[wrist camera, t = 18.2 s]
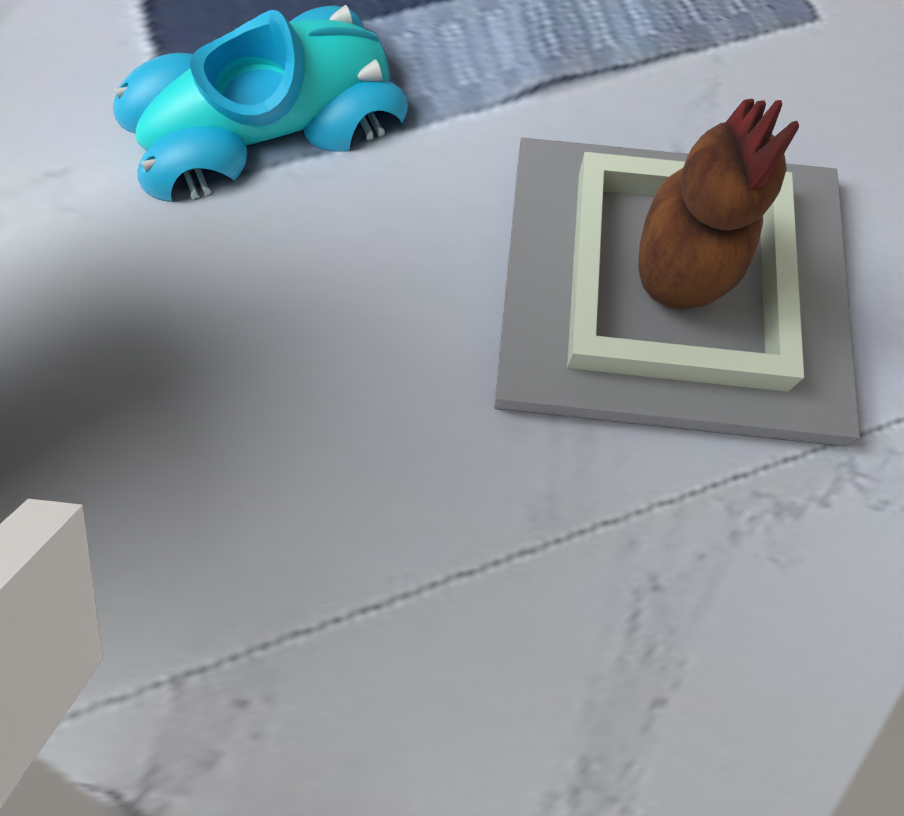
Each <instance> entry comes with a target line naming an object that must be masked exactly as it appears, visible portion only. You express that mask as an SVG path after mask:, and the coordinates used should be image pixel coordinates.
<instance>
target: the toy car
mask: <svg viewBox="0 0 904 816" xmlns="http://www.w3.org/2000/svg"><path fill="white" fill-rule="evenodd" d="M114 90H115V92H116V96H115V99H114V105H113V109H114V115H115V118H116V120H117V122H118V123H119V124H120V126H121V127H122V128H124V129H126V130H127V131H130V132H134V133H135V134H136V140H137V142H138V144H139V145H140V146H141V147H142V148H144V149H145V150H147V151H146V152H145V153H144V155H143V157H142V159H141V161H140V163H139V167H138V180H139V183H140V185H141V187H142V188H143V190H144V191H145V192H146V193H147V194H149V195H151V196H152V197H154V198H157V199H161V200H165V201H172V198H171V191H172V187H173V184H174V182H175V181H176V179H177V177H179V176H180V175H181V174H182V173H184V176H185V178H186V181H187V183H188V186H189V189H190V191H191V199H192V200H195V199H196V198H197V199H198V198H200V196H199V193H198V191H197V188H196V186H195V183H194V181H193V178H192V176H191V173H190V171H192V170H195V172H196V175H197V178H198V180H199V183H200V185H201V188H202V191H203V193H204V196H207V195H210V194H211V193H212V191H211V190H210V189H209V188H208V186H207V183H206V181H205V178H204V176H203V173H202V171H201V168H204V169H210V170H214V171H217V172H220V173H222V174H224V175H226V176H228V177H230V178H231V179H233V180H236V178H237V177H238V176H239V175H240V173H241V172H242V170H243V168H244V166H245V164H246V160H247V148H246V145H250V144H254V143H258V142H262V141H266V140H270V139H273V138H277V137H280V136H284V135H287V134H291V133H294V132H297V131H300V130H304V135H305V137H306V139H307V140H308V141H309V142H310V143H311V144H312V145H314V146H316V147H318V148H321V149H324V150H330V151H350V143H351V139H352V135H353V133H354V130H355V128H356V126H357V124H358V123H359V122H360V124H361V126H362V128H363V130H364V132H365V134H366V139H367V140H371V139H374V138H373V133H372V129H371V128H370V126H369V124H368V122H367V120H366V118H365V115H366V114H367V115H368V117H369V119H370V121H371V123H372V125H373V127H374V129H375V131H376V133H377V135H378V137H380V136H383V135H384V134H385V131H384V129H383V128H381V126H380V124H379V122H378V120H377V118H376V116H375V114H374V112H375V111H378V110H380V111H386V112H390V113H391V114H393V115H395V116H397V117H398V119H399V121H400V122H401V124H402V123H403V121H404V119H405V117H406V114H407V109H408V103H407V98H406V96H405V94H404V93H403V91H402V89H401V88H399V87H398V86H397V85H395V84H394V83H392V82H391V77H390V71H389V66H388V62H387V58H386V55H385V52H384V49H383V47H382V44H381V42H380V40H379V38H378V37H377V35H376V34H375V33H374V32H372V31H370V32H369V31H367V30H366V29H364V26H363V23H362V21H361V19H360V18H359V16H358V15H357V14H356V13H354V12H353V11H352V10H349V9H348V7H347V5H345V6H343V7H339V6H325V7H319V8H316V9H312V10H309V11H307V12H305V13H303V14H301V15H299V16H297V17H296V18H294V19H293V20H292V21H290V22H289V21H288V20H287V19H286V18H285V17H284V16H283V15H282V14H281V13H280V12H278V11H275V10H271V11H267V12H265V13H263V14H261V15H259V16H258V17H256V18H255V19H253V20H251V21H249V22H247V23H245V24H243V25H242V26H240V27H239V28H237V29H236V30H234V31H232V32H230V33H228V34H226V35H224V36H223V37H221V38H219V39H217V40H214V41H213V42H211V43H209V44H206V45H205V46H203V47H202V48H199V49H198V50H197V51H196V52H195V53H194V54H188V53H172V54H166V55H162V56H159V57H156V58H154V59H151V60H149V61H147V62H145V63H144V64H142V65H140V66H139V67H137V68H136V69H135V70H134V71H132V72H131V73H130V74H129V75H128V76H127V77H126V79H125V80H124V81H123V83H122V84H121V85H120V87H119V88H115V89H114Z"/></svg>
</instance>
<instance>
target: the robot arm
mask: <svg viewBox="0 0 904 816" xmlns="http://www.w3.org/2000/svg"><path fill="white" fill-rule="evenodd" d="M102 659H103V655H102V648H101V640H100V633H99V625H98V617H97V610H96V602H95V595H94V587H93V579H92V572H91V564H90V556H89V549H88V541H87V534H86V526H85V518H84V511H83V505H81V504H72V503H63V502H55V501H46V500H37V499H27V500H26V501H25V502H24V503H23V504H22V505H21V506H20V507H18V508H17V509H16V510H15V511H14V512H13V513H12V514H11V515H10V516H8V517H7V518H6V519H5V520H4V521H3V522H2V523H1V524H0V808H1V807H2V806H3V804H4V803H5V801H6V800H7V798H8V797H9V795H10V794H11V792H12V791H13V789H14V788H15V787H16V785H17V784H18V782H19V780H20V779H21V778H22V776H23V775H24V773H25V772H26V770H27V769H28V768H29V766H30V765H31V763H32V762H33V760H34V759H35V757H36V756H37V754H38V753H39V751H40V750H41V749H42V747H43V746H44V744H45V743H46V741H47V740H48V738H49V737H50V735H51V734H52V732H53V731H54V729H55V728H56V727H57V725H58V724H59V722H60V721H61V719H62V718H63V716H64V715H65V713H66V712H67V710H68V709H69V708H70V706H71V705H72V703H73V702H74V700H75V699H76V697H77V696H78V694H79V693H80V691H81V690H82V688H83V687H84V686H85V684H86V683H87V681H88V680H89V678H90V677H91V675H92V674H93V672H94V671H95V669H96V668H97V667H98V665H99V664H100V662H101V661H102Z"/></svg>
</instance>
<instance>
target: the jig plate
mask: <svg viewBox="0 0 904 816" xmlns="http://www.w3.org/2000/svg"><path fill="white" fill-rule="evenodd" d="M687 156H688V154H683V153H673V152H663V151H653V150H643V149H633V148H622V147H612V146H602V145H592V144H582V143H572V142H562V141H552V140H542V139H531V138H521V143H520V150H519V159H518V169H517V180H516V190H515V200H514V211H513V221H512V232H511V242H510V252H509V263H508V273H507V284H506V294H505V304H504V315H503V325H502V336H501V346H500V356H499V367H498V377H497V388H496V398H495V408H496V409H505V410H514V411H523V412H533V413H542V414H551V415H561V416H570V417H579V418H588V419H598V420H607V421H616V422H625V423H635V424H644V425H653V426H663V427H672V428H681V429H690V430H700V431H709V432H718V433H728V434H737V435H746V436H755V437H765V438H774V439H783V440H793V441H802V442H811V443H820V444H830V445H839V446H847V445H849V444H851V443H852V442H854V441H855V440H857V439H859V438H860V436H859V424H858V412H857V400H856V388H855V376H854V364H853V352H852V340H851V328H850V316H849V305H848V293H847V281H846V269H845V257H844V245H843V233H842V221H841V209H840V197H839V185H838V173H837V169H835V168H825V167H815V166H804V165H794V164H786V168H787V170H786V174H785V177H784V180H783V184H782V187H781V191H780V193H779V194H778V196H777V198H776V199H775V201H774V202H773V203H772V205H771V206H770V207H769V209H768V210H767V211H766V212H765V214H764V215H763V227H762V231H761V235H760V240H759V243H758V247H757V250H756V252H755V255H754V257H753V259H752V261H751V263H750V265H749V267H748V269H747V271H746V273H745V275H744V277H743V278H742V280H741V281H740V282H739V284H738V285H737V286H736V287H734V288H733V289H732V290H731V291H729V292H728V293H727V294H725V295H723V296H722V297H720V298H718V299H717V300H715V301H713V302H712V303H710V304H708V305H706V306H703V307H695V308H688V309H682V310H681V309H676V308H671V307H667V306H665V305H663V304H661V303H659V302H657V301H655V300H653V299H652V298H651V296H650V295H649V294H648V293H647V292H646V291H645V289H644V288H643V286H642V282H641V278H640V275H639V269H638V264H639V247H640V241H641V237H642V232H643V228H644V223H645V219H646V216H647V213H648V211H649V209H650V206H651V204H652V202H653V199H654V197H655V195H656V192H657V190H658V189H659V187H660V186H661V185H662V183H663V182H664V180H665V179H667V178H668V177H669V176H671V175H672V174H674V173H675V172H677V171H678V170H680V169H682V168H683V167H684V164H685V161H686V159H687Z"/></svg>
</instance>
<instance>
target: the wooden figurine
mask: <svg viewBox="0 0 904 816" xmlns="http://www.w3.org/2000/svg"><path fill="white" fill-rule="evenodd" d="M765 106H766V103H765V101H764V100H763V101H757V102H756V103H755V105H754V99H747V100H744V101H743V102H742V103H741V104H740V105H739V106H738V107H737V109H736V110H735V111H734V112H733V114H732V115H731V116H730V117H729V119H728V120H727V121H726V122H725V123H720V124H718V125H717V126H715V127H713V128H712V129H710V130H708V131H707V132H706V133H705V134H704V135H702V136H701V137H700V139H699V140H698V141H697V142H696V144H695V145H694V146H693V147H692V149H691V151H690V153H689V154H688V156H687V159H686V161H685V164H684V167H683V168H682V169H680V170H678V171H677V172H675V173H674V174H672V175H671V176H669V177H668V178H667V179H665V180H664V182H663V183H662V185H661V186H660V187H659V189H658V190H657V192H656V195H655V197H654V199H653V202H652V204H651V206H650V209H649V211H648V213H647V216H646V219H645V223H644V228H643V232H642V237H641V241H640V247H639V264H638V269H639V275H640V278H641V282H642V286H643V288H644V289H645V291H646V292H647V293H648V294H649V295H650V296H651V298H652V299H653V300H655V301H657V302H659V303H661V304H663V305H665V306H667V307H671V308H676V309H681V310H682V309H688V308H695V307H703V306H706V305H708V304H710V303H712V302H713V301H715V300H717V299H718V298H720V297H722V296H723V295H725V294H727V293H728V292H729V291H731V290H732V289H733V288H734V287H736V286H737V285H738V284H739V282H740V281H741V280H742V278H743V277H744V275H745V273H746V271H747V269H748V267H749V265H750V263H751V261H752V259H753V257H754V255H755V252H756V250H757V247H758V243H759V240H760V235H761V231H762V227H763V215H764V214H765V212H766V211H767V210H768V209H769V207H770V206H771V205H772V203H773V202H774V201H775V199H776V198H777V196H778V194H779V193H780V191H781V187H782V184H783V180H784V177H785V174H786V170H787V168H786V162H785V156H784V153H785V151H786V149H787V147H788V146H789V144H790V142H791V140H792V139H793V137H794V135H795V133H796V132H797V130H798V128H799V124H798V121H794V122H791V123H790V124H789V125H788V126H787V127H786V128H784V129H783V130H782V131H781V132H780V133H779V134H777V135H776V136H775V137H774V136H773V135H772V132H773V129H774V126H775V123H776V121H777V118H778V115H779V112H780V110H781V107H782V101H781V100H777V101H775V102H774V103H773V105H772V106H771V107H770V108H769V110H768V111H767V112H766V113H765V114H764V116H763V113H764V110H765ZM762 116H763V117H762Z"/></svg>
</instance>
